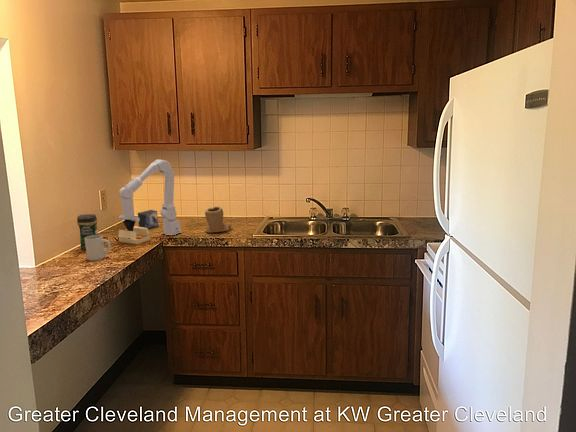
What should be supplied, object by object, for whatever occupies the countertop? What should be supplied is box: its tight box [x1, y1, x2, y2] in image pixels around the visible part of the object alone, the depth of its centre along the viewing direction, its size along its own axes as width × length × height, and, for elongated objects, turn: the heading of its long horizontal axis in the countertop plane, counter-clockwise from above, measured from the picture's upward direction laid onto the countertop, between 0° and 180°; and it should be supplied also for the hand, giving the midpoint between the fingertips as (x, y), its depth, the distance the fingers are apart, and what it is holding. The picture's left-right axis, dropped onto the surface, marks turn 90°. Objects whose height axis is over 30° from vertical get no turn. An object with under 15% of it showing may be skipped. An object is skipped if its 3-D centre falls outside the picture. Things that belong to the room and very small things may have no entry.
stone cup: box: [204, 206, 232, 234], centre depth 268 cm, size 15×12×15 cm
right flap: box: [133, 225, 151, 236], centre depth 260 cm, size 13×4×1 cm
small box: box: [137, 209, 159, 230], centre depth 285 cm, size 11×6×10 cm, turn 143°
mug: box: [85, 234, 112, 262], centre depth 229 cm, size 12×8×11 cm
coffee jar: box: [76, 213, 99, 250], centre depth 246 cm, size 10×8×19 cm
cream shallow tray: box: [118, 233, 151, 245], centre depth 257 cm, size 14×10×2 cm
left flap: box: [118, 229, 138, 239], centre depth 253 cm, size 13×4×1 cm
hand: (130, 232), depth 255 cm, fingers closed, pressing on left flap
